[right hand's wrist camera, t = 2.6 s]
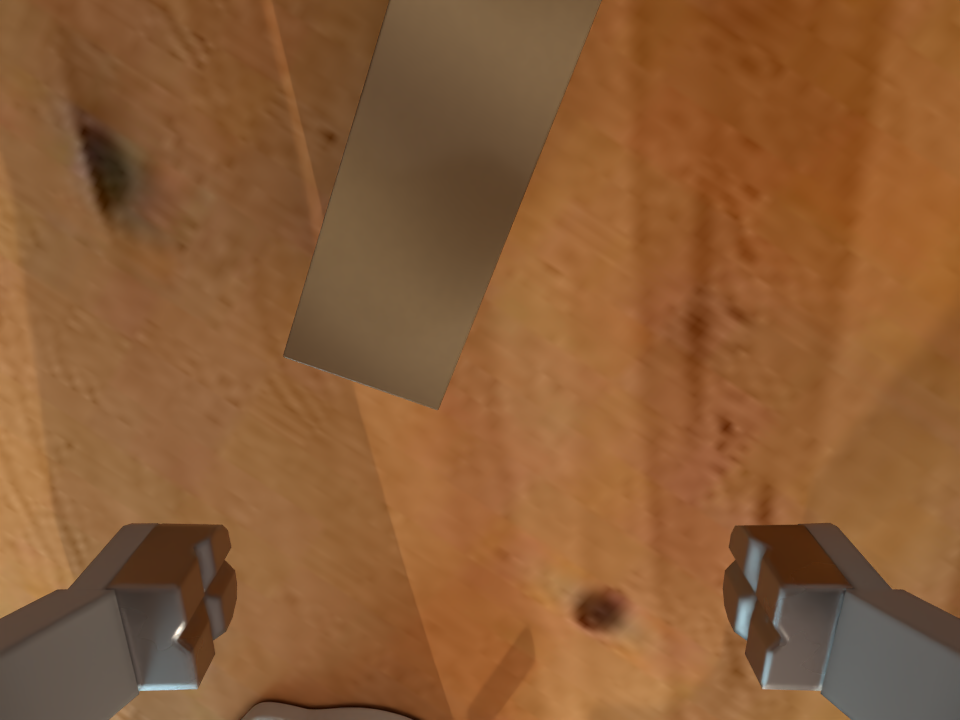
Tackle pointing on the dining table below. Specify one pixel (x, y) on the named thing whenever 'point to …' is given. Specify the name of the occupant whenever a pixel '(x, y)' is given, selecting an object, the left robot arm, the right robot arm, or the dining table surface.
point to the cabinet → (432, 185)
